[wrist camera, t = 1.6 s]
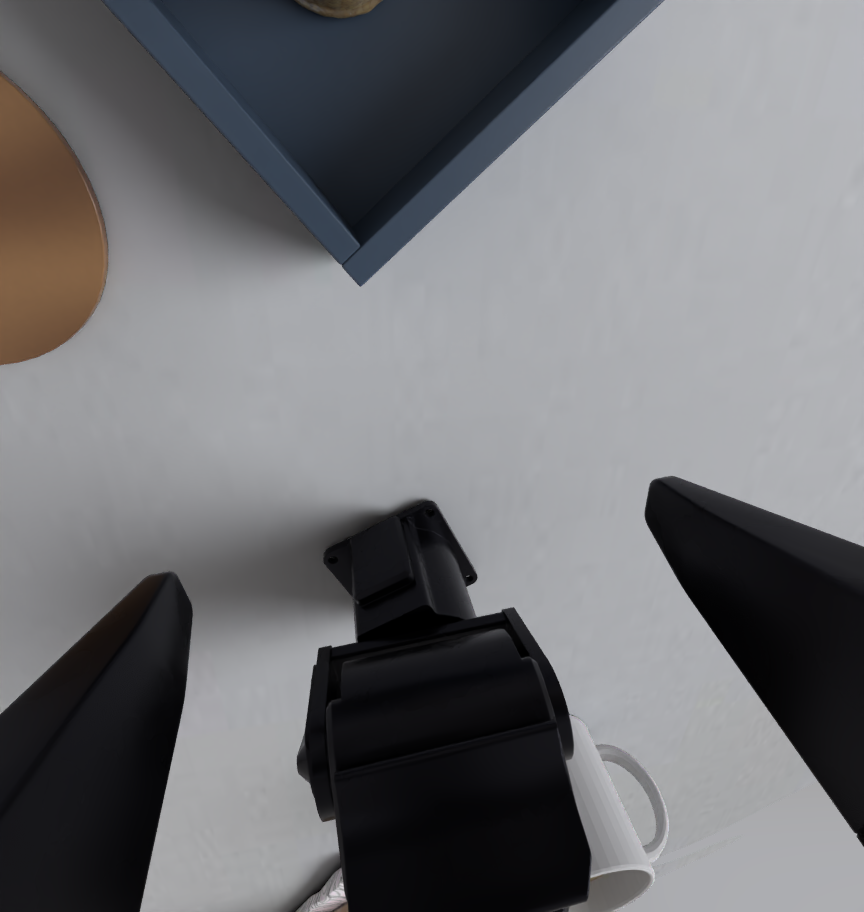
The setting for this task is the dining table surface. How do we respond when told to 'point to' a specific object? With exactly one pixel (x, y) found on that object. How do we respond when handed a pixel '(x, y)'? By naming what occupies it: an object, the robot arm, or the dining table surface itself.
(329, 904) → the cookie jar
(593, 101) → the dining table surface
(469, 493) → the dining table surface
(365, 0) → the sprinkles bottle
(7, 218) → the cork coaster
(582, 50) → the bin
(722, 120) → the dining table surface
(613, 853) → the mug
